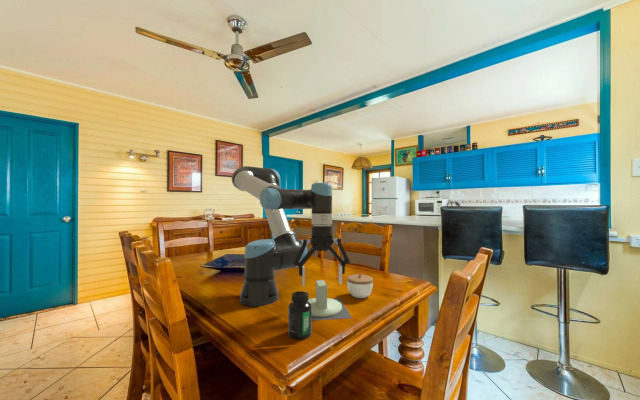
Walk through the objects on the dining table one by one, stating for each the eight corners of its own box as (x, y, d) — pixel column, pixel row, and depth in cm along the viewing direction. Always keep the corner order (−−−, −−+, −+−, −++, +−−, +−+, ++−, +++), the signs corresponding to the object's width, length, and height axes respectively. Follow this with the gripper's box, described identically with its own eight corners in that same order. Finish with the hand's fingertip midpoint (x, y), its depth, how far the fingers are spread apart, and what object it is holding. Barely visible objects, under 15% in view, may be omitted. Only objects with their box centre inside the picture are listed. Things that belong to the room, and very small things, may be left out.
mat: (298, 322, 83) (298, 321, 83) (295, 301, 101) (295, 300, 101) (351, 319, 86) (352, 317, 86) (339, 299, 104) (339, 298, 104)
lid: (302, 318, 85) (302, 290, 85) (299, 301, 100) (299, 277, 100) (346, 316, 87) (346, 289, 87) (337, 299, 102) (337, 276, 102)
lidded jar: (373, 302, 101) (373, 278, 101) (345, 300, 103) (345, 276, 103) (373, 293, 111) (373, 271, 111) (348, 291, 114) (348, 269, 114)
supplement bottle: (312, 340, 72) (312, 297, 72) (287, 341, 72) (287, 298, 72) (310, 329, 79) (311, 289, 79) (288, 329, 79) (288, 290, 79)
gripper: (287, 226, 88) (287, 288, 88) (357, 225, 92) (358, 285, 92) (287, 225, 96) (287, 282, 95) (352, 224, 100) (352, 279, 99)
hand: (322, 283), depth 93 cm, fingers open, 13 cm apart
